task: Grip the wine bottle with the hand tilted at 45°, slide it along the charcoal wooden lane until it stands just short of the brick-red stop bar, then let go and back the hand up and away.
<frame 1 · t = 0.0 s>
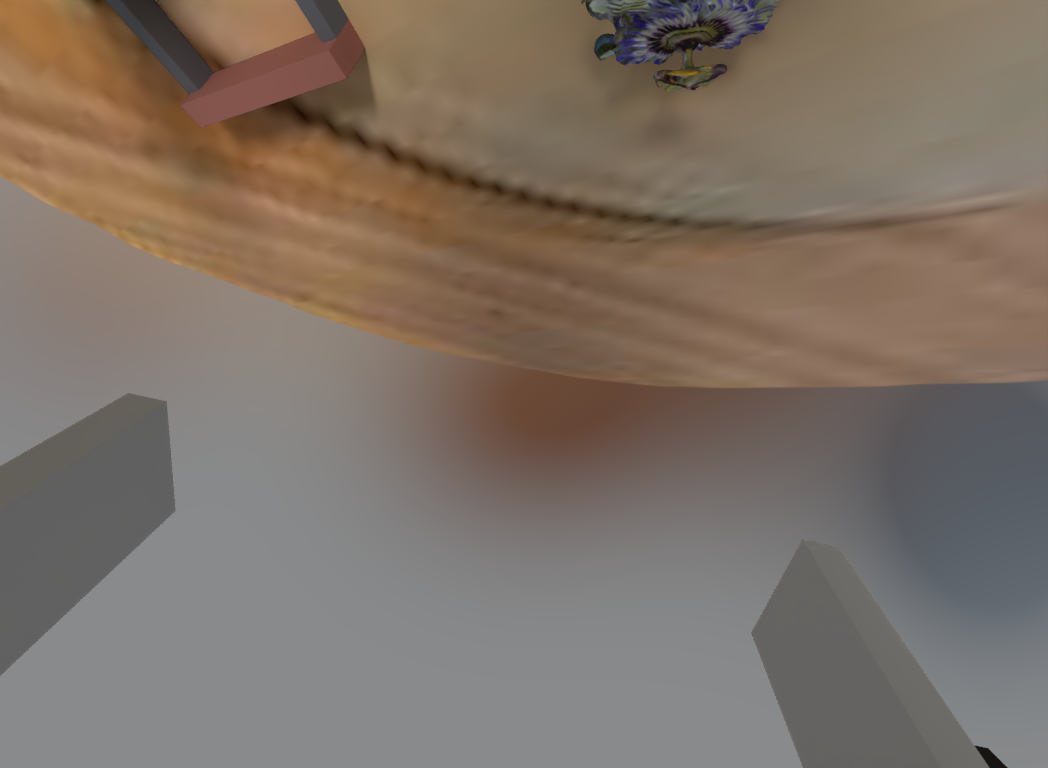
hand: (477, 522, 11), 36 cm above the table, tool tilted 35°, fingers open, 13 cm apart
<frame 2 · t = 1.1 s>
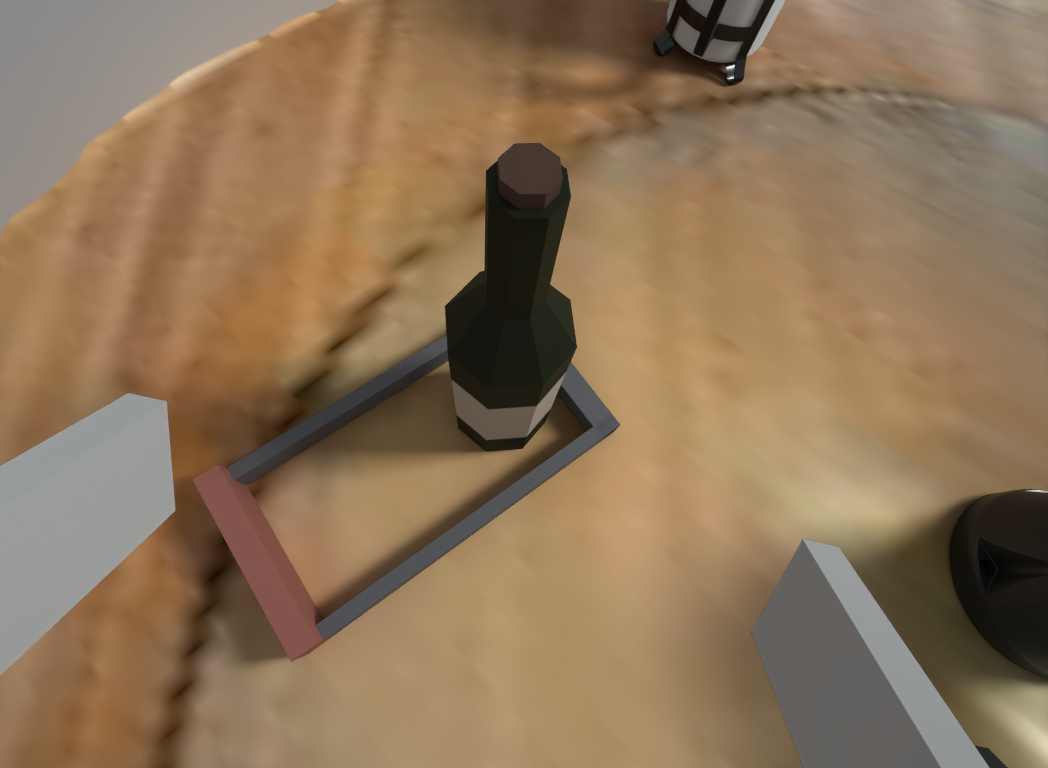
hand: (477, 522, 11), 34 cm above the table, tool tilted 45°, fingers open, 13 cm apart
coffee press: (706, 51, 65), on the table
lane: (424, 458, 46), on the table
wine bottle: (500, 408, 48), resting in lane
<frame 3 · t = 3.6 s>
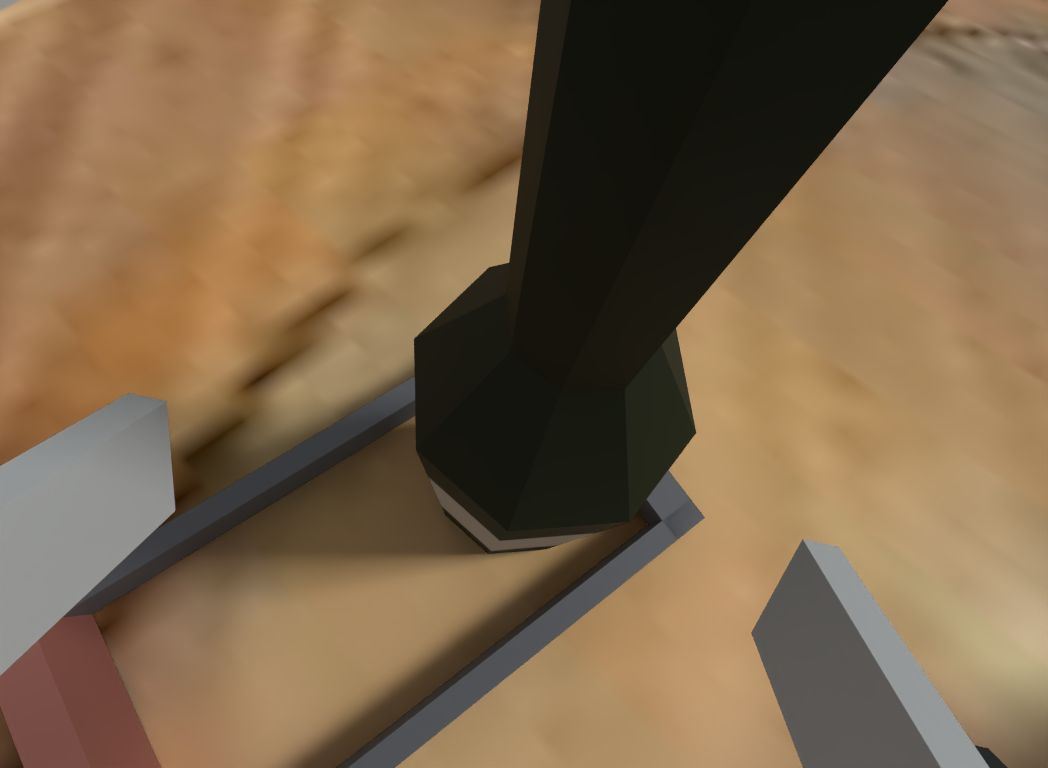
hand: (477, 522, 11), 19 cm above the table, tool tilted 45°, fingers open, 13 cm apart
lane: (389, 566, 29), on the table
wine bottle: (512, 481, 31), resting in lane
when the fingers open (14 cm above the table, at t = 10.4 s): wine bottle stays where it is, resting in lane.
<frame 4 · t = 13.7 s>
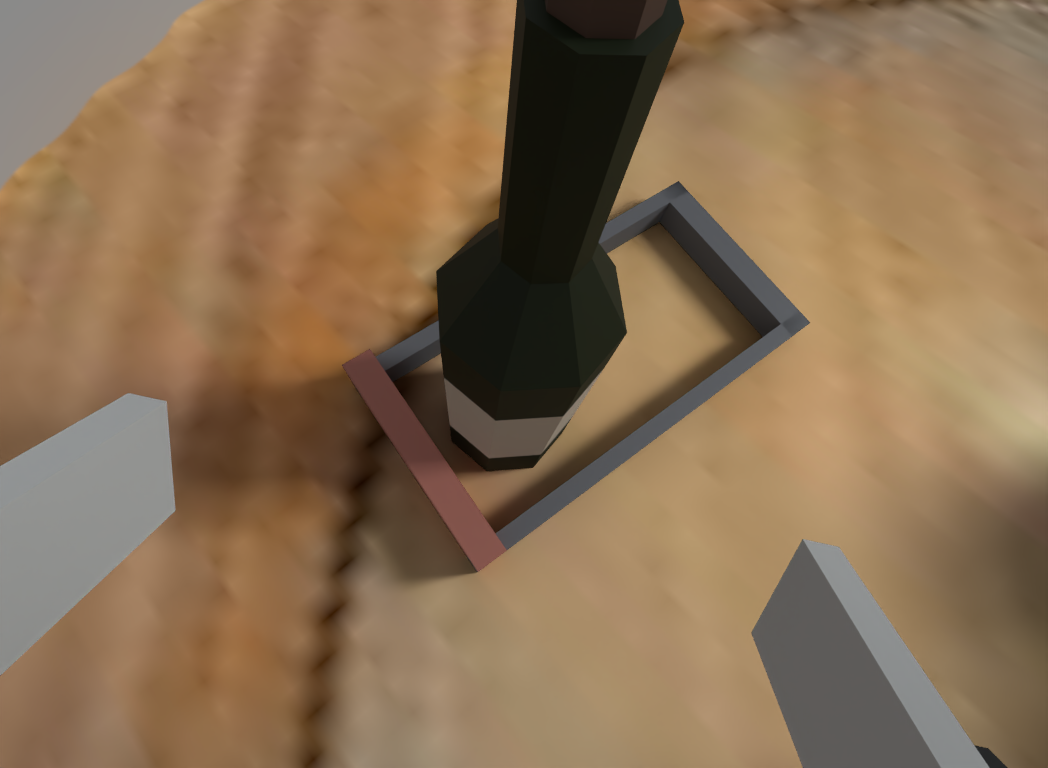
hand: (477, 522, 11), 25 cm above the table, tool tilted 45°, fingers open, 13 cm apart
lane: (586, 360, 40), on the table
wine bottle: (505, 416, 38), resting in lane
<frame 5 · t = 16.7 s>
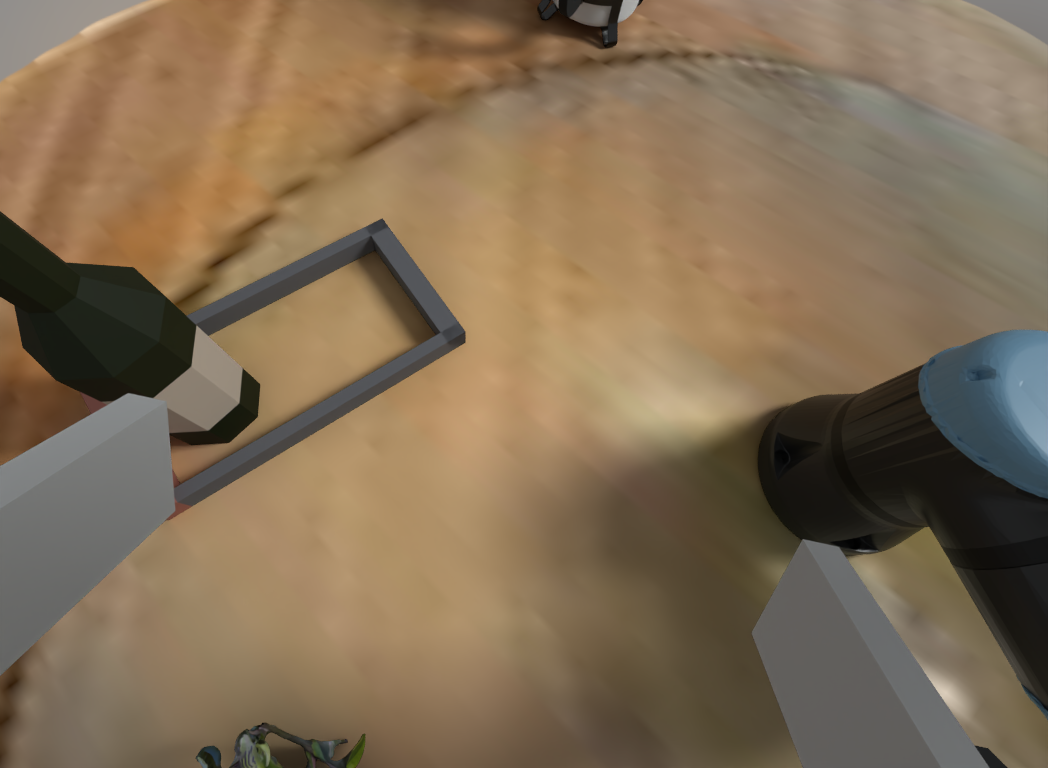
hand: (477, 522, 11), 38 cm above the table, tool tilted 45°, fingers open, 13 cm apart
coffee press: (588, 17, 71), on the table
lane: (289, 360, 51), on the table
wine bottle: (215, 403, 49), resting in lane
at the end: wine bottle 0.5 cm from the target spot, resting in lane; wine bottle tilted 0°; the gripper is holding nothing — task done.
